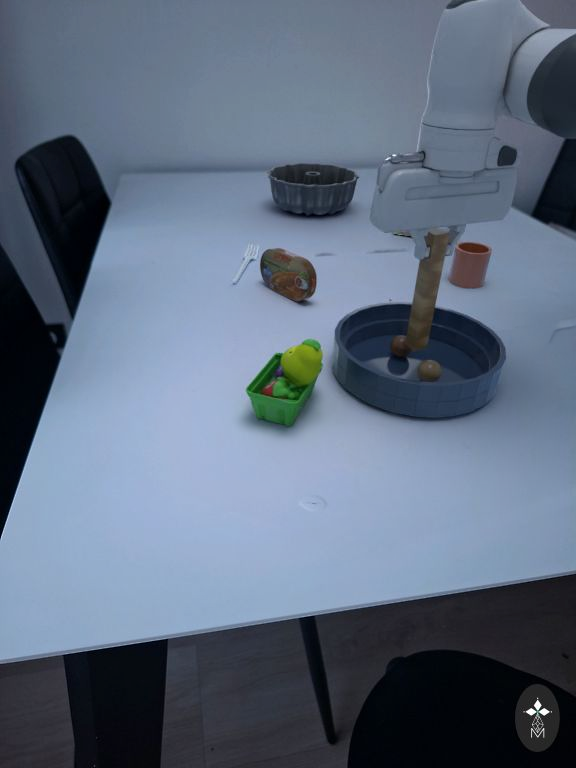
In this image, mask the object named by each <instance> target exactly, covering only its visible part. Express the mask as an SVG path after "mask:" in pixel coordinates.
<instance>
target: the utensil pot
mask: <svg viewBox="0 0 576 768" xmlns="http://www.w3.org/2000/svg"><path fill="white" fill-rule="evenodd" d="M492 253H493V249H492V248H491V247H490V246H489V245H487V244H484V243H480V242H474V241H463V242H457V243H456V244H455V246H454V250H453V255H452V256H453V257H452V261H451V264H450V265H451V266H450V271H449V276H448V282H449V283H450V284H452V285H453V286H455V287H459V288H462V289H469V290H470V289H480V288H482V287H484V284H485V280H486V276H487V273H488V269H489V263H490V260H491V256H492Z"/></svg>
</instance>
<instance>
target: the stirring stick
mask: <svg viewBox="0 0 576 768" xmlns="http://www.w3.org/2000/svg"><path fill="white" fill-rule="evenodd" d="M449 234H450V233H448V232H446V231H444V230H442V229H440V228H436V229H429V230H428V235H427V236H424V239H425V243H426V244H427V245H429V246H430V247H431V252H430V257H429V258H428V259H422V260H419V262H418V268H417V274H416V280H415V285H414V292H413V297H412V302H411V303H412V308H411V314H410V319H409V325H408V331H407V337H406V343H405V344H406V345H407V346H408V347H409V348H411V349H412V350H413V351H417V350H422V349H427V344H428V339H429V334H430V329H431V324H432V319H433V314H434V309H435V306H436V303H437V299H438V293H439V288H440V283H441V280H442V279H441V278H442V274H443V269H444V265H445V259H446V256H445V254H446V249H447V244H448V239H449Z"/></svg>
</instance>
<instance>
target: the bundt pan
mask: <svg viewBox="0 0 576 768" xmlns="http://www.w3.org/2000/svg"><path fill="white" fill-rule="evenodd" d="M267 178H268V179H269V183H270V190H271V195H272V199H273V201H274V203H275V204H276V205H277V206H278V207H280V208H281V209H282V210H283V211H284V212H287V211H292V212H291V213H293V214H295V215H296V214H297V215H300V214H305V216H307V217H309V216H310V215H312V214H314V215H317V216H323V215H325V214H327V213H329V214H328V215H333V214H335V213H336V211H337V212H340V211H342V210H344V209H345V208H346V207H347V206H349V205H350V203H351V202H352V201H353V198H354V196H355V190H356V186H357V182H358V179H360V176H359V175H358V172H357V171H356V170H353V169H350V168H348V167H346V166H340V165H337V164H331V163H320V162H314V163H311V162H296V163H285V164H283V165H278V166H277V165H276V166H274V167H272V168H271V169H269V170H267Z"/></svg>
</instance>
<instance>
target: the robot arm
mask: <svg viewBox="0 0 576 768" xmlns="http://www.w3.org/2000/svg"><path fill="white" fill-rule="evenodd" d="M426 79H427V81H426V84H427V102H426V106H425V109H424V112H423V114H422V117H421V120H420V126H419V133H418V140H417V146H416V151H410V152H405V153H401V152H395V153H391V154H390V155H389V156H388V157H387V158H385V159H384V160H383V161H382V162H381V163H380V164H379V165H378V167H377V172H376V181H375V183H376V184H375V188H374V192H373V195H372V199H371V204H370V205H371V206H370V210H369V221H370V223H371V225H372V226H373V227H374V228H375V229H377V230H379V231H380V232H382V233H384V234H390V233H393V232H400V231H409V230H410V233H411V236H412V237H411V238H412V241H413V243H414V245H415V246H414V252H413V256H414V258H415V259H417V260H419V261H420V260H422V259H428V258H429V257H430V252H431V247H430V246H429V245H427V244H426V243H425V239H424V236H427V235H428V230H429V228H436V227H445V226H447V227H448V228H450V230H449V231H448V233H450V234H449V239H448V244H447V249H446V254H445V257H451V256H453V255H454V251H455V246H456V244H458V242H459V240H460V239H461V237H462V236H463V234H464V233H465V231H466V227H467V225H472V224H479V223H489V222H497V221H502V220H504V219H505V218H506V217H507V215H508V214H509V213H510V211H511V208H512V204H513V201H514V197H515V192H516V187H517V182H518V172H517V169H516V168H515V167H518V166H519V165H520V164H521V162H522V159H523V156H524V150H523V149H522V148H520V147H518V146H516V145H513V144H511V143H508V142H506V141H504V140H502V139H500V138H498V137H495V136H494V135H495V131H496V127H497V122H498V119H499V118H500V117H501V116H505V117H508V118H510V119H514V120H516V121H519V122H522V123H525V124H528V125H532V126H535V127H539V128H541V129H543V130H545V131H547V132H549V133H551V134H553V135H555V136H557V137H560V138H563V139H569V140H575V139H576V28H556V27H551V24H549V23H546V22H545V21H543V20H542V19H540V18H538V17H537V16H536V15H534V14H533V13H532V12H531V11H530V10H529V9H528V8H527V6H526V5H525V4H524V3H523V2H522V1H521V0H451V1H450V2H449V3H448V4H447V5H446V6H445V8H444V10H443V12H442V14H441V16H440V20H439V23H438V26H437V29H436V32H435V36H434V41H433V45H432V51H431V56H430V62H429V68H428V74H427V78H426Z"/></svg>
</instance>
